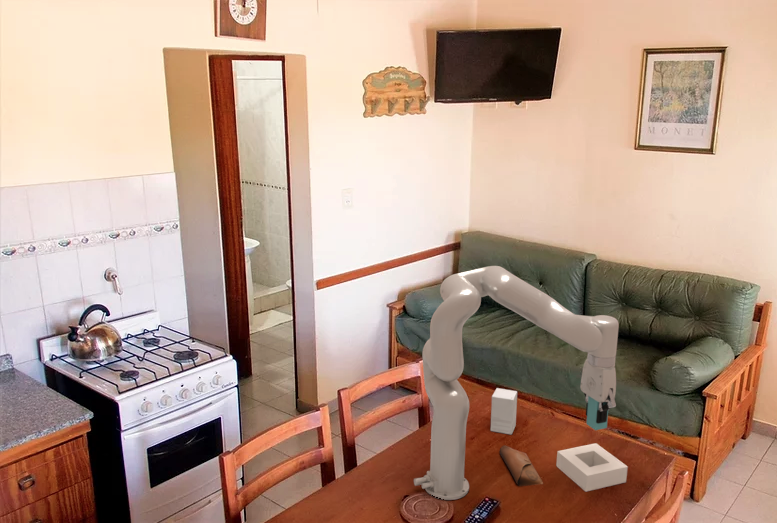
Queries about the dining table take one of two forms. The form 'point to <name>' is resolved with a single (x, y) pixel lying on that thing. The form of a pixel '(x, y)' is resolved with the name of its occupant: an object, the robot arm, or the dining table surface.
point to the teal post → (594, 414)
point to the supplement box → (503, 411)
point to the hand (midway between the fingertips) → (595, 418)
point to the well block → (595, 477)
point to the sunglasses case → (520, 467)
